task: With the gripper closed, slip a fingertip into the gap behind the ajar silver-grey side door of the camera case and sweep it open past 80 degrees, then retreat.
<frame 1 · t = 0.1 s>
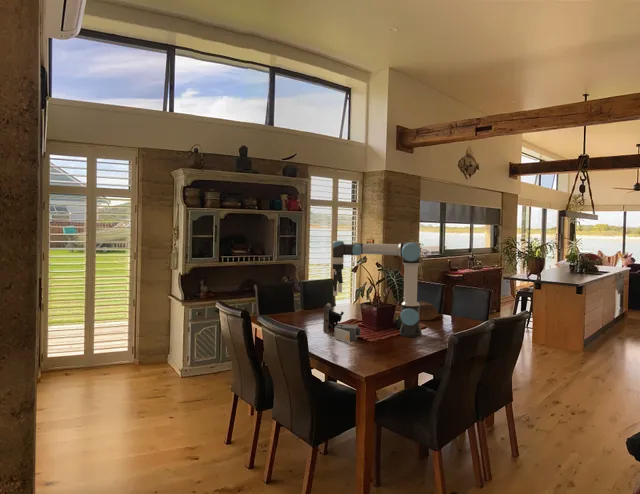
hand: (337, 294, 294), 28 cm above the table, fingers open, 13 cm apart
bread: (420, 317, 350), on the table
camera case: (346, 337, 287), on the table
side door: (341, 335, 278), point 4 cm above the table, hinge at 35.0°
vintage camera: (335, 332, 302), on the table
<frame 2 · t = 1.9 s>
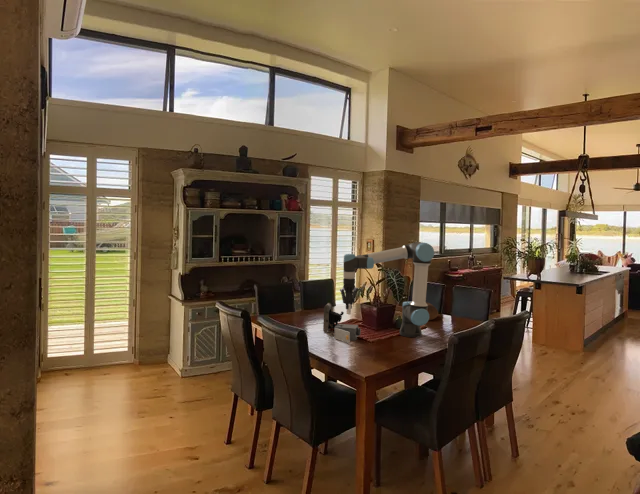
hand: (348, 314, 277), 18 cm above the table, fingers closed
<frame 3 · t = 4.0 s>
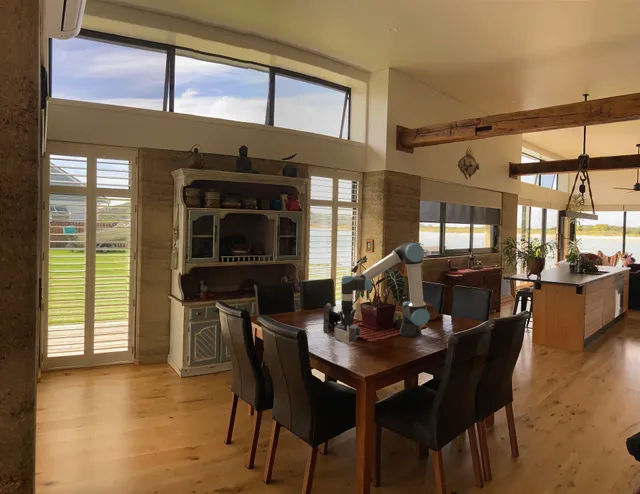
hand: (347, 335, 277), 4 cm above the table, fingers closed
side door: (341, 335, 278), point 4 cm above the table, hinge at 37.6°, touching gripper
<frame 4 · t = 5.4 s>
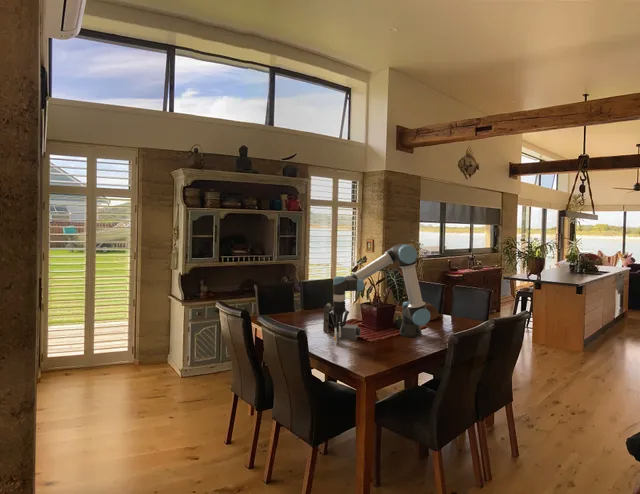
hand: (339, 336, 274), 4 cm above the table, fingers closed
side door: (335, 335, 277), point 4 cm above the table, hinge at 74.1°, touching gripper
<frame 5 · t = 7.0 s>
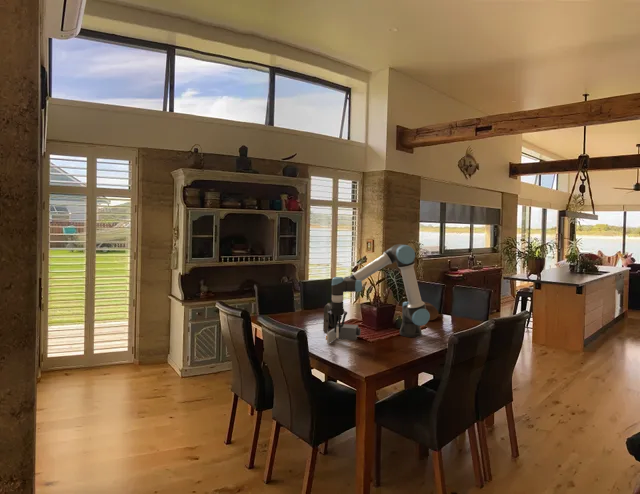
hand: (337, 337, 275), 3 cm above the table, fingers closed
side door: (331, 335, 277), point 4 cm above the table, hinge at 98.3°
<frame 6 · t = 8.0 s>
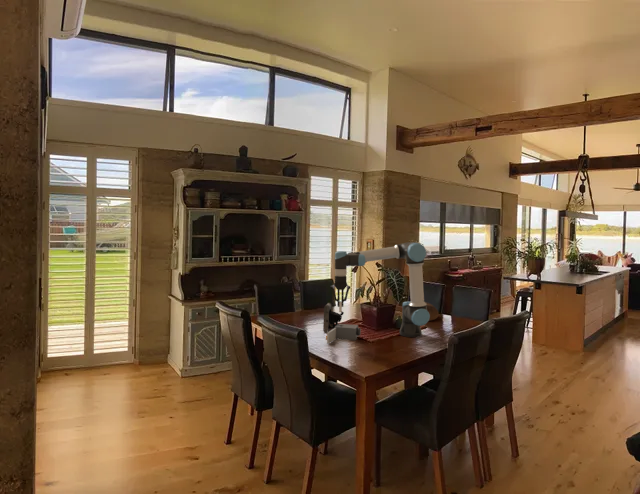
hand: (340, 311, 275), 20 cm above the table, fingers closed
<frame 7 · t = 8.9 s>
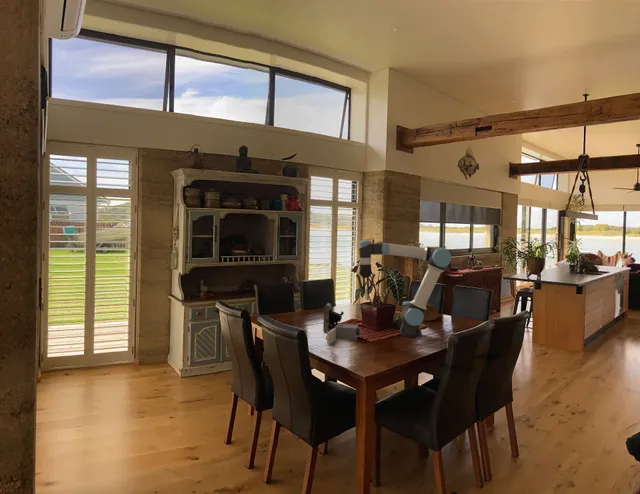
hand: (366, 299, 284), 27 cm above the table, fingers closed
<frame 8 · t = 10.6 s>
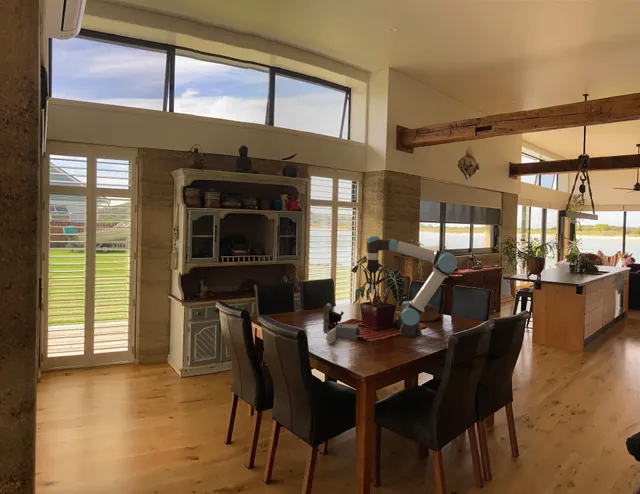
hand: (372, 294, 287), 29 cm above the table, fingers closed
at the end: side door at +98° (first picture: +35°); side door touching nothing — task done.
